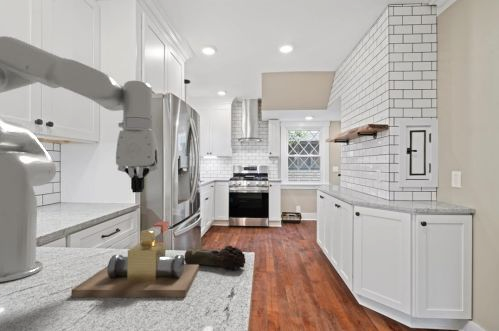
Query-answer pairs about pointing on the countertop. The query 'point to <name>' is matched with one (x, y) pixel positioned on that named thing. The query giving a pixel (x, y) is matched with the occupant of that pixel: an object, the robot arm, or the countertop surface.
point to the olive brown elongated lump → (216, 257)
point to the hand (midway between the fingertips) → (137, 191)
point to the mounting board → (136, 285)
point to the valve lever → (153, 233)
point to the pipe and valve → (145, 264)
